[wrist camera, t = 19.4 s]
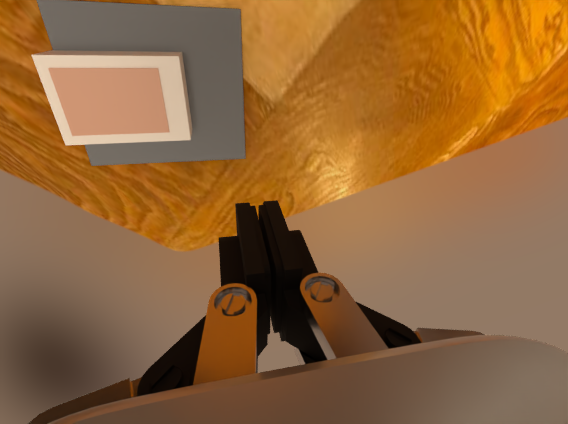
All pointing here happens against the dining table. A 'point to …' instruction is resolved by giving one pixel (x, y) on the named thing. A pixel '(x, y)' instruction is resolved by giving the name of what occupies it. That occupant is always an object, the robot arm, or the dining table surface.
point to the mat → (166, 38)
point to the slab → (116, 95)
